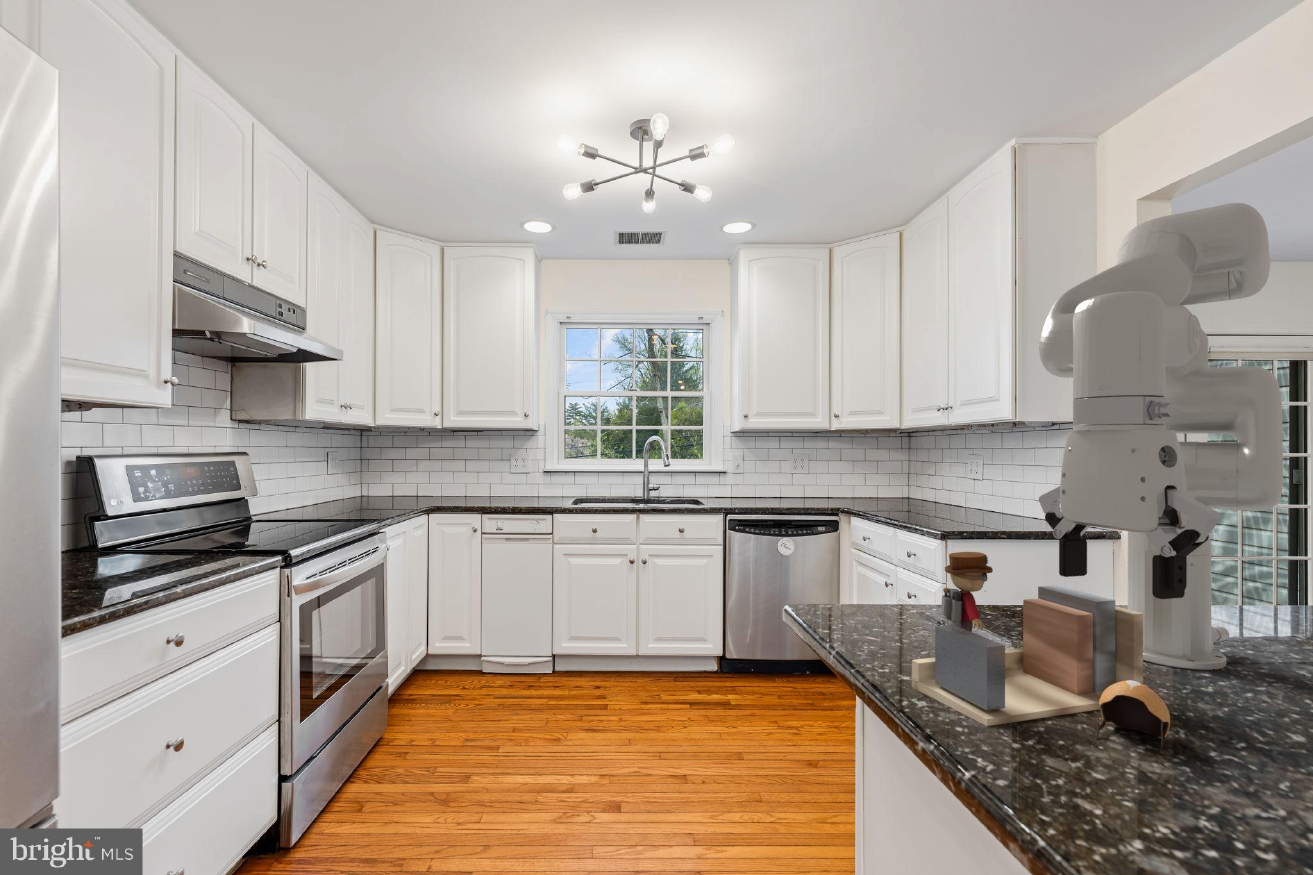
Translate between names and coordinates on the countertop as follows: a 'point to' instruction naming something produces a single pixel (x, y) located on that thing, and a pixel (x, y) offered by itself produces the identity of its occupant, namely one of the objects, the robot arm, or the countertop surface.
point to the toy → (965, 589)
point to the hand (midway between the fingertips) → (1117, 585)
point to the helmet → (1134, 709)
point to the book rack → (1056, 658)
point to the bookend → (970, 666)
